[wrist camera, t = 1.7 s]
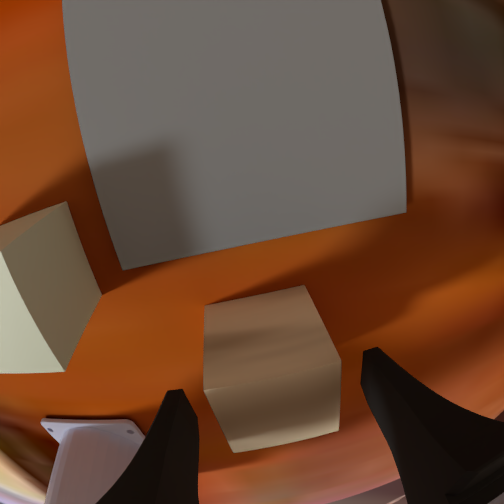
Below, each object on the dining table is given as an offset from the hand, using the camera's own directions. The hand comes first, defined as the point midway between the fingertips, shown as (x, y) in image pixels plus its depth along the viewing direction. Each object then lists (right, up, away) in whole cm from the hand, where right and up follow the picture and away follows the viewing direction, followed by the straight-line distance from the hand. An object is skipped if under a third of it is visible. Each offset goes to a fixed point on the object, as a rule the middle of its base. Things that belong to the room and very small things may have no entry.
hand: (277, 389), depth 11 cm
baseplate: (-1, +11, -1) cm, 12 cm away
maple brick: (0, +1, +3) cm, 4 cm away
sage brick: (-10, +5, +1) cm, 11 cm away
